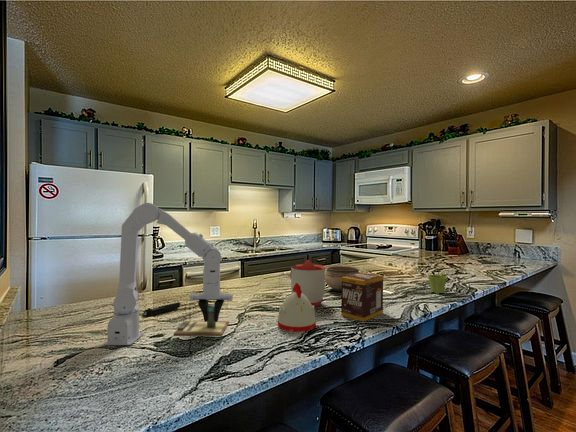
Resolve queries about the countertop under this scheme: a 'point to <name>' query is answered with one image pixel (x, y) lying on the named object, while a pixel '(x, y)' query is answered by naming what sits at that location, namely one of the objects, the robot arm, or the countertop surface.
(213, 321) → the marker
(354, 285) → the supplement box
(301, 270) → the citrus juicer
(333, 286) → the cooking pot
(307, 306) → the kitchen timer
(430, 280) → the plant pot
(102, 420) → the countertop surface
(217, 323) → the clipboard
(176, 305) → the electric trimmer
